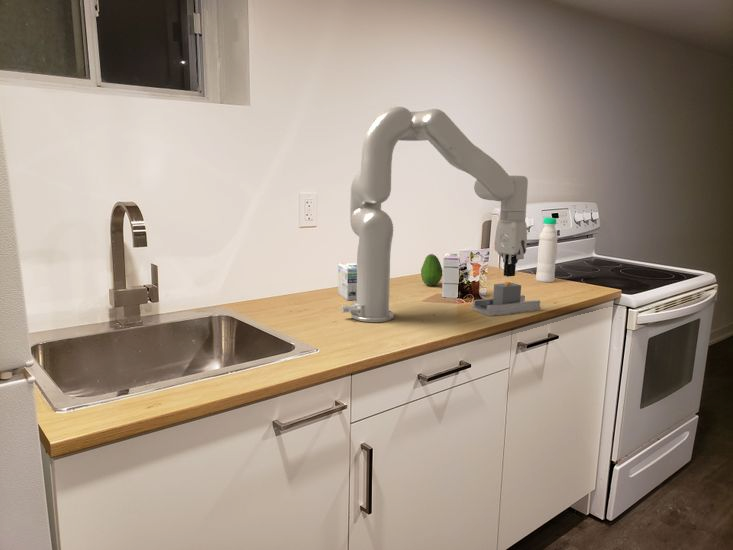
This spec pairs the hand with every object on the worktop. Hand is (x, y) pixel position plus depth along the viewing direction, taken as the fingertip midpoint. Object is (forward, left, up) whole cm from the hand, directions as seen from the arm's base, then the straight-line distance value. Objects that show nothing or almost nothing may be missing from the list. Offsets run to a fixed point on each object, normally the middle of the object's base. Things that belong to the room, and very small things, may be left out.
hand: (509, 275), depth 174 cm
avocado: (-3, +39, -11) cm, 41 cm away
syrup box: (-6, +22, -11) cm, 26 cm away
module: (0, 0, -10) cm, 10 cm away
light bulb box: (-38, +34, -11) cm, 52 cm away
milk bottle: (+44, +31, -11) cm, 55 cm away
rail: (0, 0, -11) cm, 11 cm away
